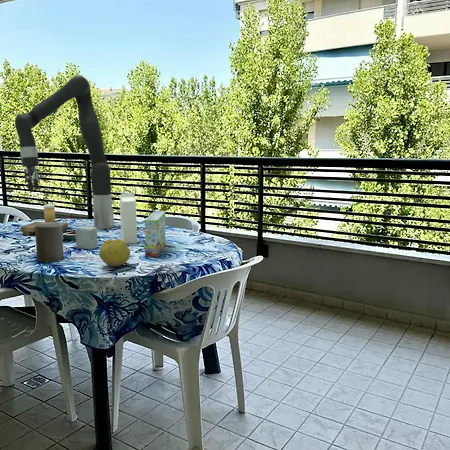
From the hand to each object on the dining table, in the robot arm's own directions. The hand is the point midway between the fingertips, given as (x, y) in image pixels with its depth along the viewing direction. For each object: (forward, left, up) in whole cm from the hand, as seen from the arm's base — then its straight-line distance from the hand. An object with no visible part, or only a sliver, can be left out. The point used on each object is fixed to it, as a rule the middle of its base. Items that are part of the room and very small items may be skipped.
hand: (34, 190), depth 222 cm
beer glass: (-2, -9, -20) cm, 22 cm away
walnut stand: (-7, +5, -20) cm, 22 cm away
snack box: (-69, +27, -21) cm, 77 cm away
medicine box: (-39, +28, -20) cm, 53 cm away
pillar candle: (-33, +47, -20) cm, 61 cm away
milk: (-53, +15, -20) cm, 59 cm away
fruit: (-61, +52, -20) cm, 83 cm away
